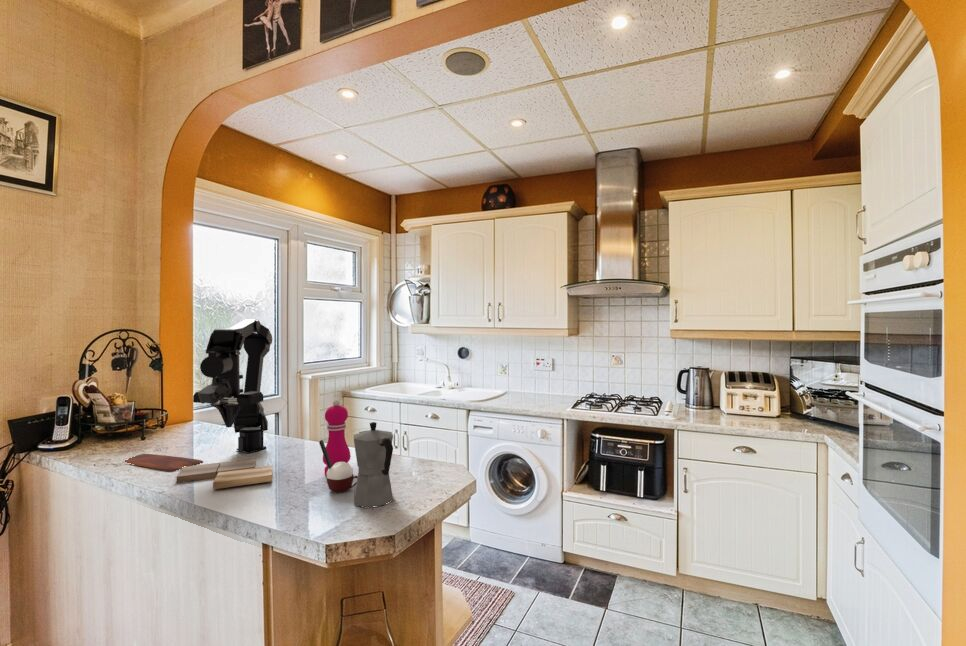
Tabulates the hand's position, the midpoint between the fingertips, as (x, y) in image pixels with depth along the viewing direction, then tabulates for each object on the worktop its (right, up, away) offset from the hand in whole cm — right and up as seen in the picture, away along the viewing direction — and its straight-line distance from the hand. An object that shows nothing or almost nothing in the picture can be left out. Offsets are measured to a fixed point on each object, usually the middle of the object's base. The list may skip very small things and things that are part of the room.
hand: (229, 427), depth 126 cm
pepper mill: (+32, -12, -5) cm, 35 cm away
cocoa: (+37, -12, -17) cm, 42 cm away
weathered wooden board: (0, -12, -4) cm, 12 cm away
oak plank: (+10, -11, -11) cm, 19 cm away
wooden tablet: (-24, -13, +6) cm, 28 cm away
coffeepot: (+48, -12, -25) cm, 55 cm away
